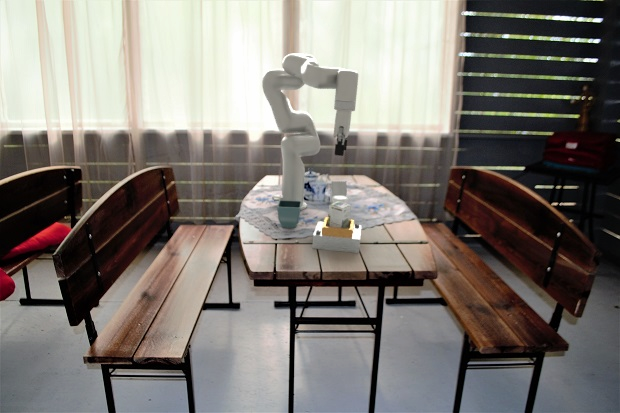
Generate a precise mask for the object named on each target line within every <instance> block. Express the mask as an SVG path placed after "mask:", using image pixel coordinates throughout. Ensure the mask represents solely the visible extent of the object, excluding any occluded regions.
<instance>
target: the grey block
mask: <svg viewBox="0 0 620 413" xmlns="http://www.w3.org/2000/svg"><path fill="white" fill-rule="evenodd" d="M347 186H348V185H347V181H346V180H332V181H331V184H330V192H329V202H330V205H331V204H333V200H332V197H333V196H335V195H343V196H348V195H347V192H348V188H347Z"/></svg>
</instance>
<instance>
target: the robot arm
mask: <svg viewBox="0 0 620 413" xmlns="http://www.w3.org/2000/svg"><path fill="white" fill-rule="evenodd" d="M281 63H282V64H281V66H282V68H276V69H275V68H274V69H269V70H267V71H266V72H265V73H264V74H263V76H262V82H261V87H262V90H263V93H264V96H265V98H266V100H267V102H268V104H269V105H270V108H271V111H272V114H273V117H274V120H275V123H276V126H277V128H278V131H279V132H280V133H281V134H284V135H285V136H284V137H283V138H282V139H281V141H280V151H281V156H282V182H281V186H282V188H281V195H272V198H271V199H272V201H274V202H279V200H285V201H301V210H300V211H302V210H304V209H306V208H307V207H308V204H307V203H306V202H305V200H304V198H305V173H306V172H305V171H306V170H305V167H306V166H305V164H304V162H303V160H302V158H303V157H309V156H315V155H317V154H318V153H319V152H320V150H321V140H320V137H319V134H318V131H317V129H316V125H315V122H314V120H313V118H312V115H311V114H310V113H308V112H307V111H305V110H294V109H293V107H292V104H291V101H290V99H289V97H288V96H286V95H285V93H283V92H282V91H295V90H300V89H301V88H302V87H303V86H305V85H306V86H308V87H312V88H314V89H318V90H319V89H320V90H326V89H327V90H330V89H331V90H335V93H334V94H335V95H334V105H333V109H334V111H335V110H336V112H335V119H334V127H333V135H332V136H333V138H334V139H335V138H336V140H335V141H336V142H335V144H334V145H335V146H334V156H341V157H343V156H344V155H345V154H344V153H345V152H344V151H346V150H347V148H348V147H347V146H348V137H349V133H350V129H351V128H350V127H351V121H352V112H355V111H356V102H357V94H358V93H357V92H358V83H359V72H358V71H357V70H353V69H346V68H342V67H329V66H320V65H319V63H318V62H317V58H316V57H315V56H314V55H312V54H308V53H305V54H304V53H289V54H287V55H286V56H284V57H283V60H282V62H281Z"/></svg>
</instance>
